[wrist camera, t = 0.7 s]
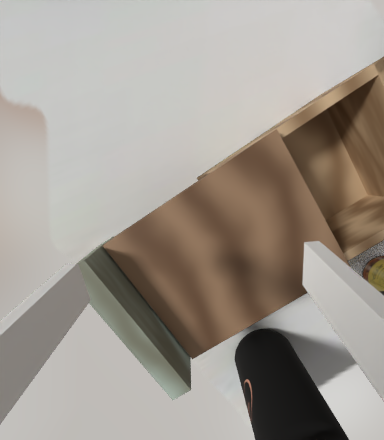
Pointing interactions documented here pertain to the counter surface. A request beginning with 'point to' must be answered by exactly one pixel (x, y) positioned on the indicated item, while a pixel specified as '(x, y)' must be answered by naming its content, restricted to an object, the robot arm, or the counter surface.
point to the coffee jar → (282, 391)
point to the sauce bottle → (375, 273)
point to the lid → (208, 261)
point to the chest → (342, 156)
